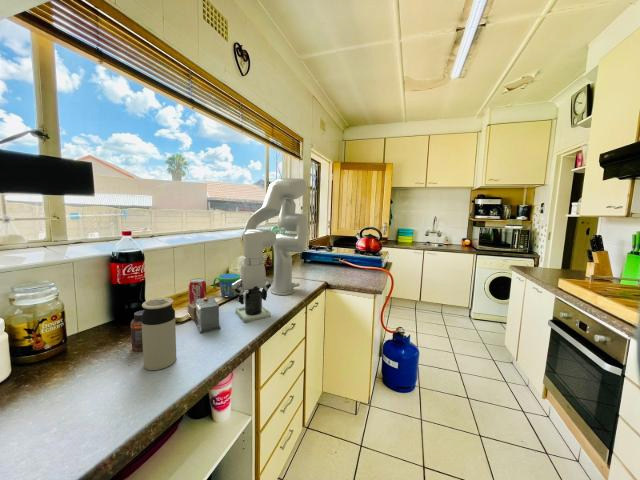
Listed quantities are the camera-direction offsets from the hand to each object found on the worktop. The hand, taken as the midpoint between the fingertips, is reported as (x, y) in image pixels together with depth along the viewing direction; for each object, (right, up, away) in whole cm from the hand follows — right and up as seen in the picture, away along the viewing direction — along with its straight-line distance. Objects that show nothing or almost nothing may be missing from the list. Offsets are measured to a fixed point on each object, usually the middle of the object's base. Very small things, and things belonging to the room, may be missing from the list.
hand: (252, 301), depth 108 cm
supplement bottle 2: (0, -5, +1) cm, 5 cm away
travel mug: (-18, -10, -34) cm, 39 cm away
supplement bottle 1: (-28, -8, -26) cm, 39 cm away
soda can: (-26, -4, +7) cm, 28 cm away
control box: (-15, -7, -10) cm, 19 cm away
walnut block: (-22, -5, -3) cm, 23 cm away
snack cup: (-18, -3, +22) cm, 28 cm away
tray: (0, -6, +1) cm, 6 cm away
